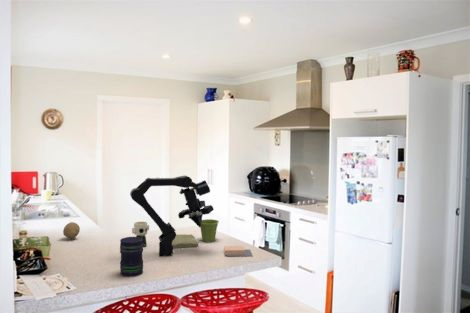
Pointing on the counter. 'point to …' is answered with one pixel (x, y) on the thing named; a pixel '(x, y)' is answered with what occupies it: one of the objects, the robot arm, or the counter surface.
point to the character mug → (141, 230)
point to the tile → (234, 250)
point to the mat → (247, 254)
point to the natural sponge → (71, 230)
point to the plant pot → (209, 230)
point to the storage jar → (131, 256)
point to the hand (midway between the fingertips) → (200, 227)
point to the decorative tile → (184, 241)
